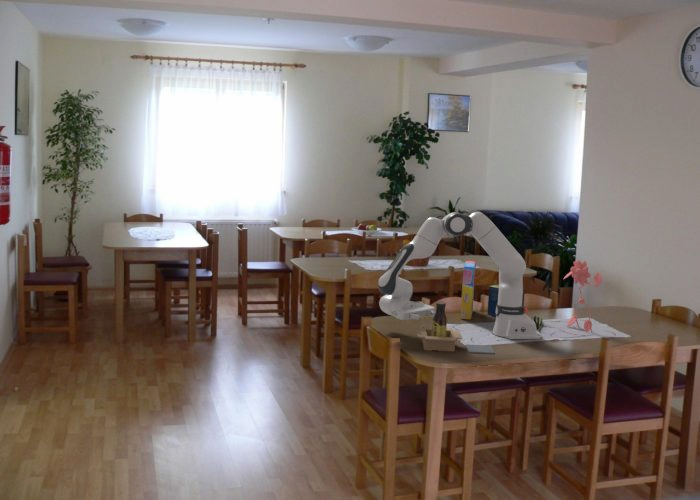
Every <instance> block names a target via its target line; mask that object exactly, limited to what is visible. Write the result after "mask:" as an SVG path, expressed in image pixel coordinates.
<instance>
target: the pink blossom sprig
mask: <svg viewBox="0 0 700 500" xmlns="http://www.w3.org/2000/svg"><path fill="white" fill-rule="evenodd" d="M570 276H571V277H572V278H573V281H574V284H578V283H579V284H580V285H581V286H579V289H578V290H579V293H580V294H579V295H580V298H579V299H578V301H576V302H575V303H574V314H575V315H574V316H572V317H571V318H570V319H568V320H569V321H567V325H566V327H567V328H568V327H570V326H572V325H574V323H576V325H577V327H578V328H579V327H580V326H579V321H578V320H577V319H578V315H576V310H577V307H576V306H577V304H578V303H579V304H582V305H583V304H585V305H586V306H587V307H589V308H591V309H590V313H589V317H588V319H587V320H585V322H584V323H583V329H584V331H585V333H589V331H591V333H592V332H593V329H592V327H593V324H592V320H590V318H591V315H592V311H593V307H592V306H590V305H589V304H587V303H586V300H585V298H583V297H582V291H581V288H584V286H587V285H591V286H593V287H595V288H596V287H599V286H600V285H601V283H602V282H603V276H602V274H601V273H600V272H597V273H595V274H594V277H593V282H594V284H593V283H590V282H589V281H588V279H589V278H591V273H590V272H589V267H588V265H587V262H586V260H583V261H581V260H579V259H577V260H575V261H573V266H571V267H570V271H569V272H568V273H567V274H566V275H565V276H564V278H563V280H565V279H567V278H569V277H570ZM558 330H559V331H562V332H563V333H567V334H568V332H566V331H564V330H562V329H560V328H558ZM569 334H570V335H575V336H577V334H576V333H569ZM581 336H584V337H585V336H586V335H583V334H582V335H581Z"/></svg>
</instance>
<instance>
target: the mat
mask: <svg viewBox="0 0 700 500" xmlns="http://www.w3.org/2000/svg"><path fill="white" fill-rule="evenodd" d="M465 347H466V350H467V352H468V354H486V355H487V354H488V355H495V354H496V353H495V351H494V348H493V347H492V345H489V344H488V345H486V344H468V343H467V344H466V343H465Z"/></svg>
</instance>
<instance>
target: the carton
mask: <svg viewBox="0 0 700 500" xmlns="http://www.w3.org/2000/svg"><path fill="white" fill-rule="evenodd" d="M415 330H416V334H417V337H418V338H421V339H422V340H421V341H422V347H423V350H424V351H432V350H438V352H455V348H456V342H457V340H463V336H462V334H461V332H460V330H458V329H453V328H448V327H447V328H446V337H436V336H432V327H430V326H427V327H426V326H425V327H424V326H422V328H416V329H415Z"/></svg>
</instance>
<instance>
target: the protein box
mask: <svg viewBox="0 0 700 500" xmlns="http://www.w3.org/2000/svg"><path fill="white" fill-rule="evenodd" d="M488 289H489V290H488V299H487V300H488V305H487V316H492V317H494V318H496V307H497V303H498V293H499V283H498V284H492V285H489V288H488ZM525 289H526V288H523V293H522V306H524V304H525V294H526V293H525V292H526V291H525ZM524 307H525V306H524Z"/></svg>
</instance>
